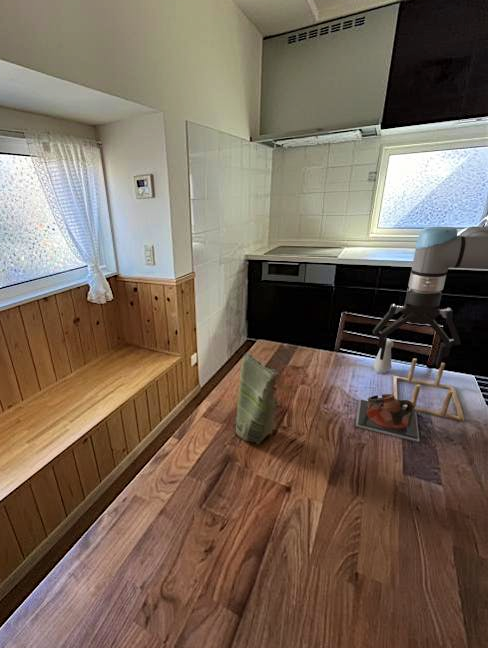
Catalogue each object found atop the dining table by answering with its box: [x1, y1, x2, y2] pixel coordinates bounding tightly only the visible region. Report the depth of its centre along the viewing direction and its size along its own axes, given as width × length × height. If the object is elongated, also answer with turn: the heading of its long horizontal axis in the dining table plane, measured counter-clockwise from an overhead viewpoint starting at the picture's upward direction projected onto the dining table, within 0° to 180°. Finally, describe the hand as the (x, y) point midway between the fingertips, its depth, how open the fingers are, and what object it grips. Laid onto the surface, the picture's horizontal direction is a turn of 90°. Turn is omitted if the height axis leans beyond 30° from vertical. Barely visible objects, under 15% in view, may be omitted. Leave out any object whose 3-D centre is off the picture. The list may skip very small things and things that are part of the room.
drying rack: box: [392, 357, 465, 422], centre depth 110 cm, size 18×19×9 cm
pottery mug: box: [367, 393, 414, 426], centre depth 101 cm, size 12×10×8 cm
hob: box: [355, 399, 421, 443], centre depth 102 cm, size 16×14×1 cm
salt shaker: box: [373, 338, 395, 375], centre depth 125 cm, size 6×6×13 cm
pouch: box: [235, 352, 279, 445], centre depth 95 cm, size 11×12×25 cm
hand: (408, 361), depth 96 cm, fingers open, 13 cm apart
